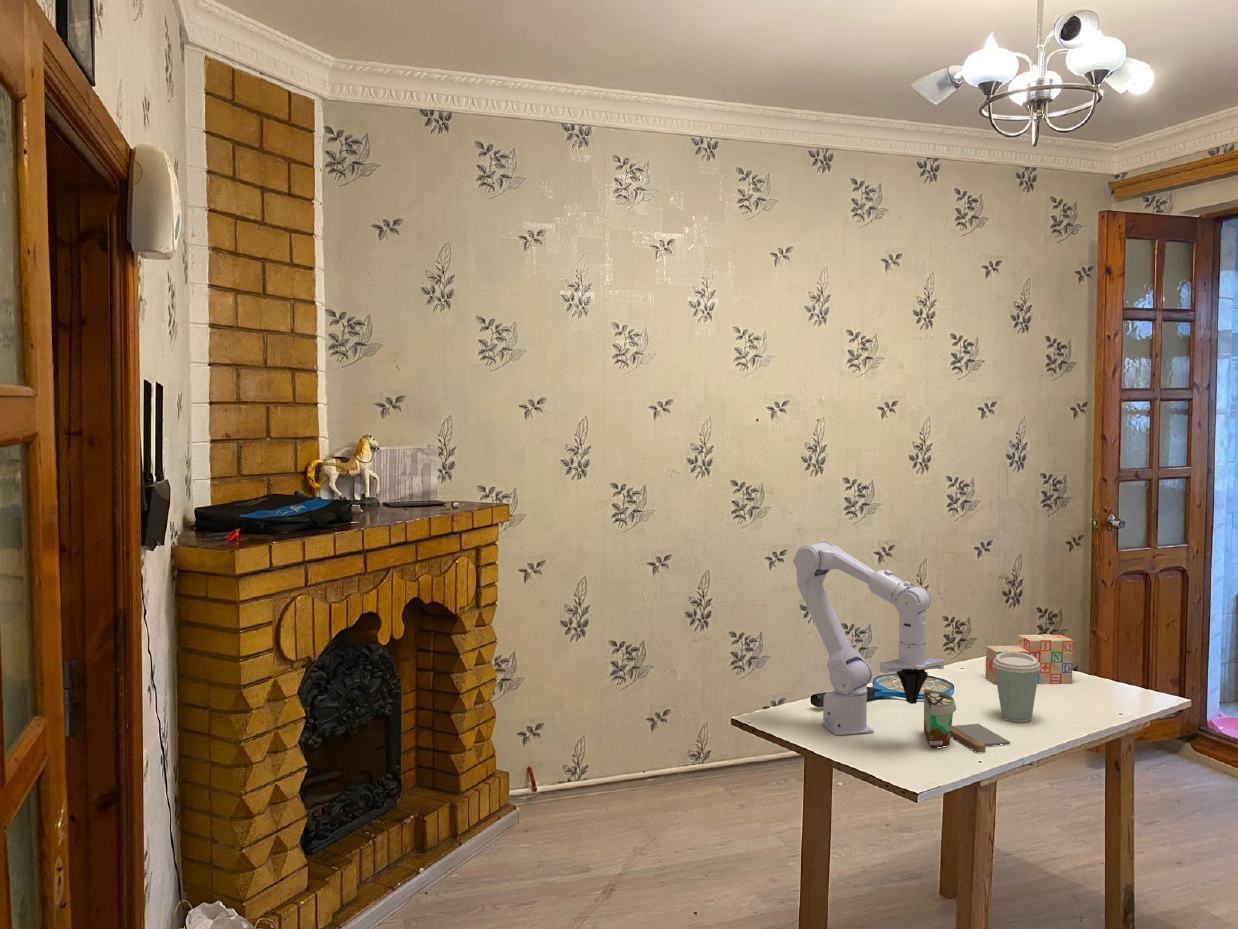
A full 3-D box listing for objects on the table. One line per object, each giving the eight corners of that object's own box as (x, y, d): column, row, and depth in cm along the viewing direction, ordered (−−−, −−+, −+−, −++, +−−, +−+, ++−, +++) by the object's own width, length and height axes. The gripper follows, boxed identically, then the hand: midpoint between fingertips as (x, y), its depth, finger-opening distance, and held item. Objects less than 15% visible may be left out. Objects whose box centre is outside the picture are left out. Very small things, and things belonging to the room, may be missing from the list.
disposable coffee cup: (1044, 727, 213) (1046, 664, 213) (995, 724, 216) (996, 661, 215) (1034, 712, 224) (1035, 652, 223) (987, 709, 226) (989, 650, 225)
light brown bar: (977, 753, 198) (977, 746, 198) (936, 728, 213) (936, 721, 213) (985, 752, 198) (985, 745, 198) (944, 727, 214) (944, 721, 214)
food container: (959, 752, 198) (960, 707, 197) (930, 750, 199) (931, 705, 199) (951, 733, 210) (951, 690, 209) (923, 731, 211) (923, 688, 211)
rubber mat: (978, 747, 201) (978, 744, 201) (947, 728, 213) (947, 726, 213) (1010, 744, 203) (1010, 742, 203) (978, 726, 214) (978, 723, 214)
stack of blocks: (995, 685, 246) (996, 640, 246) (984, 678, 253) (986, 634, 252) (1072, 684, 247) (1074, 639, 246) (1060, 677, 253) (1061, 634, 253)
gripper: (891, 648, 196) (890, 710, 197) (952, 644, 199) (951, 705, 200) (875, 640, 203) (874, 700, 204) (934, 636, 206) (933, 695, 207)
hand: (911, 702), depth 202 cm, fingers closed
